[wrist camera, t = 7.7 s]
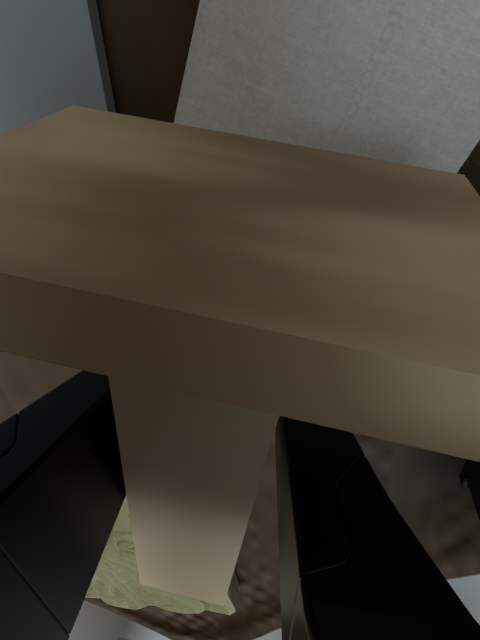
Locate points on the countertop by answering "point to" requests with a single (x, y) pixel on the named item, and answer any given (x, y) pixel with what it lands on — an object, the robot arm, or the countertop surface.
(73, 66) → the tool mat
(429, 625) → the robot arm
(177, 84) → the countertop surface
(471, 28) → the paper bag
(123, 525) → the decorative tile
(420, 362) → the wooden t-shaped block
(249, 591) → the countertop surface
